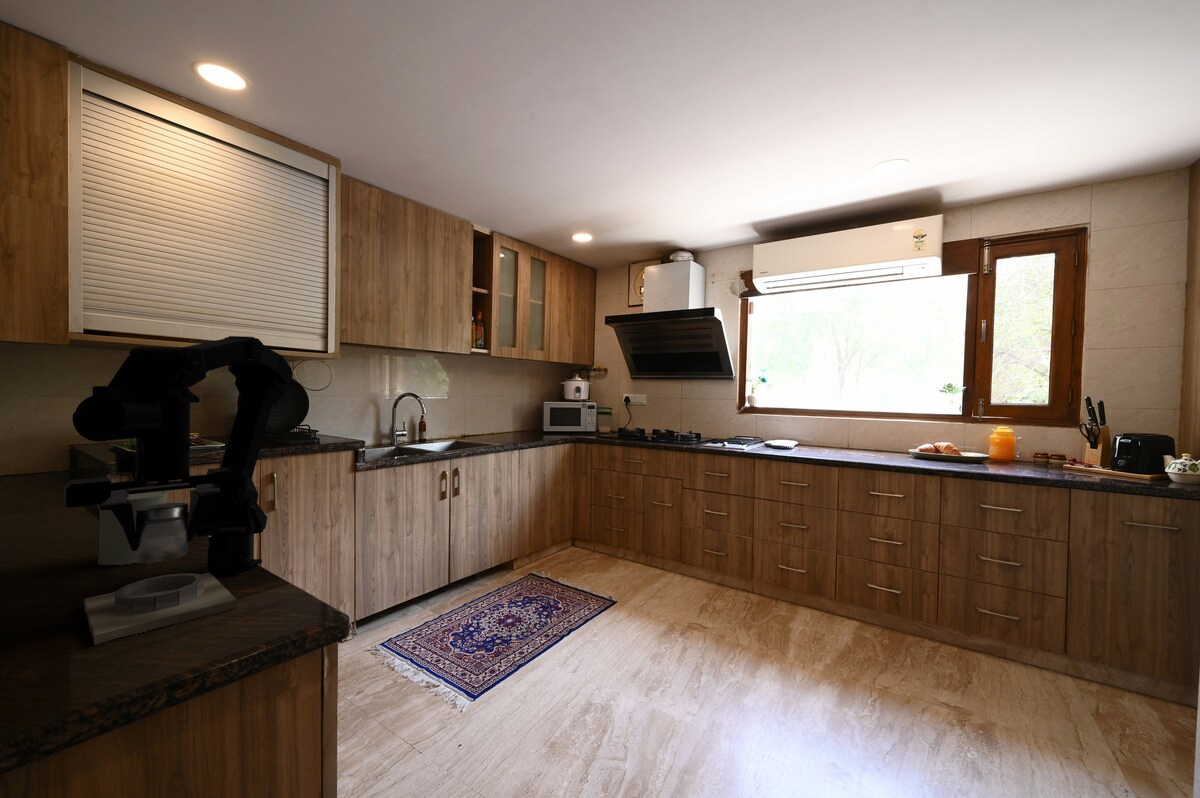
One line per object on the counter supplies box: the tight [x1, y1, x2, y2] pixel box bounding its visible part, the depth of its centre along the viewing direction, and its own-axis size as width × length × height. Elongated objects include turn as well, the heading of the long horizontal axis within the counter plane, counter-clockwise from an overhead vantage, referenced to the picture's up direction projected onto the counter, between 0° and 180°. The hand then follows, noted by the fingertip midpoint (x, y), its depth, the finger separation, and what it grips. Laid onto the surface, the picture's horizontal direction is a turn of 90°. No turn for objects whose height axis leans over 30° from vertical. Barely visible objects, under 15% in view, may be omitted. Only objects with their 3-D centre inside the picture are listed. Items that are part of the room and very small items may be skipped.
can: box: [97, 491, 168, 567], centre depth 89 cm, size 9×9×12 cm
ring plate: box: [83, 572, 238, 646], centre depth 68 cm, size 16×14×3 cm
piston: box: [135, 502, 189, 564], centre depth 69 cm, size 6×6×7 cm
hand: (162, 545), depth 69 cm, fingers closed on piston, 5 cm apart
